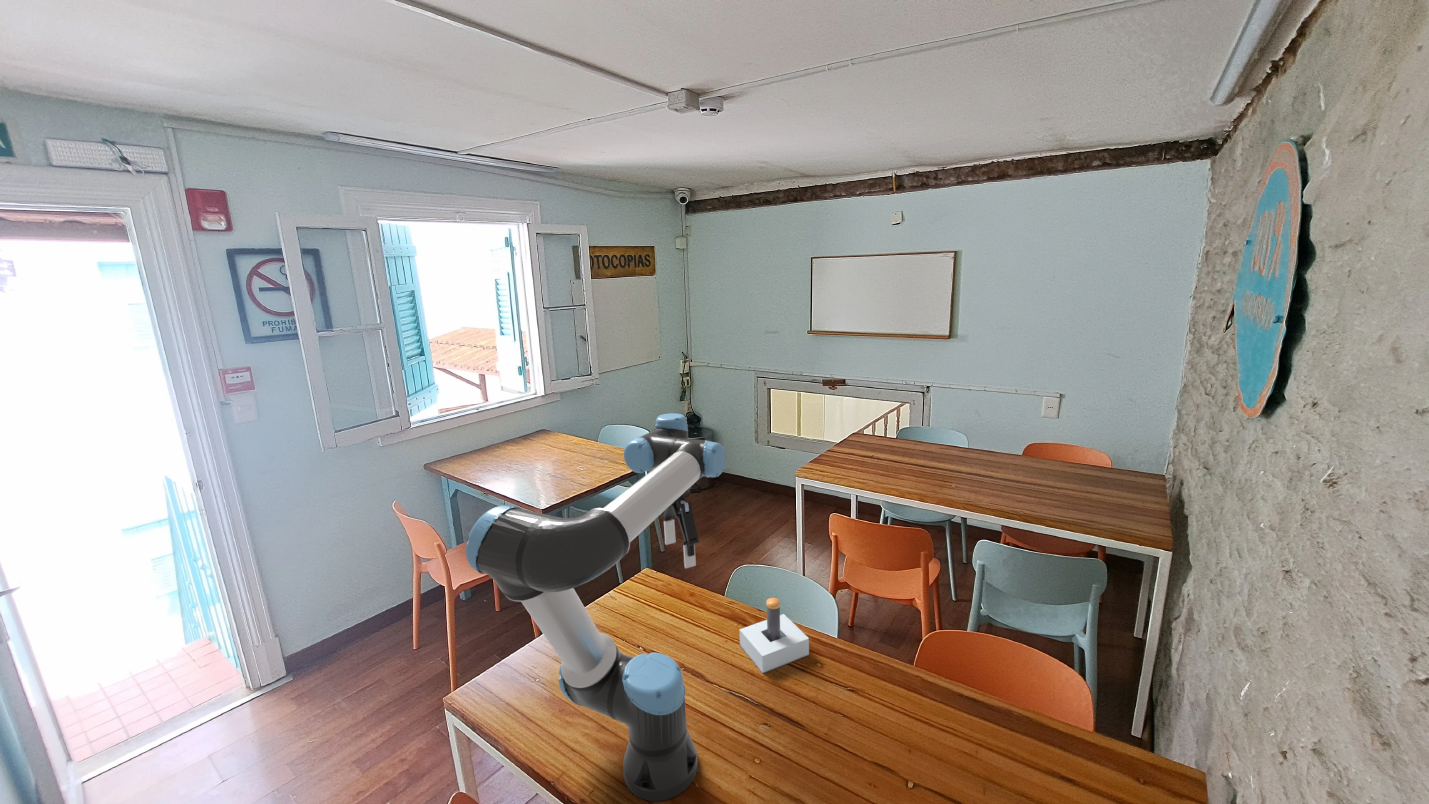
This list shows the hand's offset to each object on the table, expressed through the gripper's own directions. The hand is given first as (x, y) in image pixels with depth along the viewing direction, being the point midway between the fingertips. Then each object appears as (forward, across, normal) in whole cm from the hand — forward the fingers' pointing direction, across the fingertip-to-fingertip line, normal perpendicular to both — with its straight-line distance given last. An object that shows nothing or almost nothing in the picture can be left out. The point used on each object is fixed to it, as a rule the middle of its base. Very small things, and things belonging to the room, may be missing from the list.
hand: (679, 554), depth 140 cm
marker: (+28, -11, -21) cm, 37 cm away
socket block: (+29, -11, -21) cm, 37 cm away
